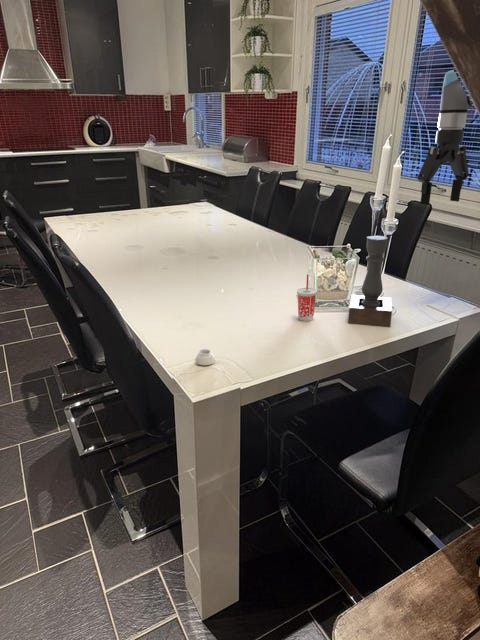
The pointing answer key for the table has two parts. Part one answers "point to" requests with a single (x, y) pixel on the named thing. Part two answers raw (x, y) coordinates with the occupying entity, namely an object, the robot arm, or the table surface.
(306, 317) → the beverage cup
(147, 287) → the table surface
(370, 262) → the candle holder
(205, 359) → the white jar
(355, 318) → the block
